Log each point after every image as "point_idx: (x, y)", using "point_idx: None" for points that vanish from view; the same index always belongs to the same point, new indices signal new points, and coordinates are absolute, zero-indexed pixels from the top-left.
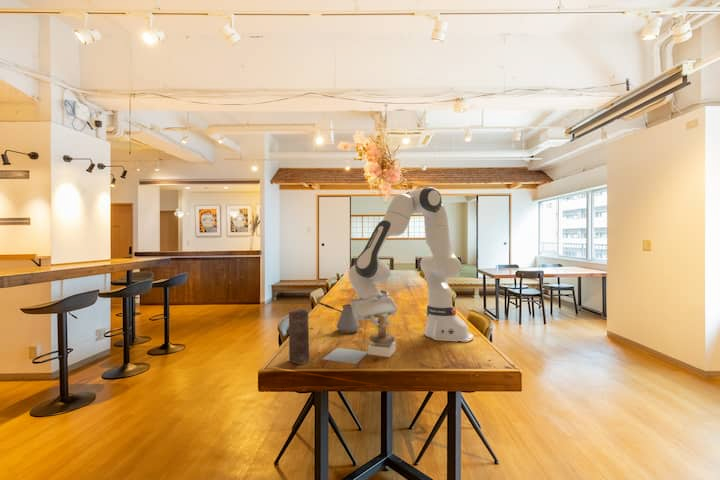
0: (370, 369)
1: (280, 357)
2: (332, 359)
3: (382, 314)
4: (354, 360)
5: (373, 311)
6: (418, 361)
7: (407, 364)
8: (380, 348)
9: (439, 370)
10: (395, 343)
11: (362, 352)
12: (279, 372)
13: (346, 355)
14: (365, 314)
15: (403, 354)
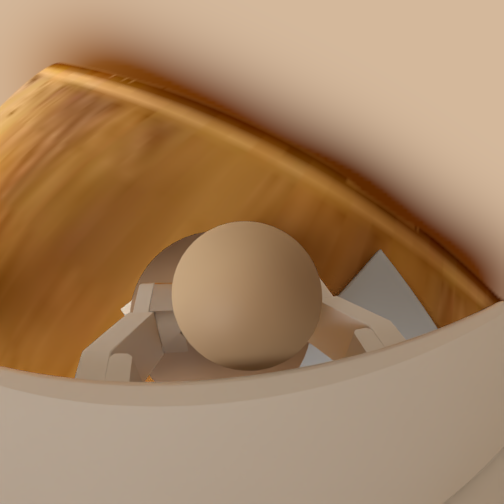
0: (344, 197)
1: None
2: (428, 328)
3: (221, 323)
4: (375, 283)
5: (409, 376)
6: (141, 166)
7: (199, 163)
8: None
9: (152, 96)
10: (127, 306)
11: (309, 363)
12: None
13: None
14: (484, 314)
15: (130, 259)
